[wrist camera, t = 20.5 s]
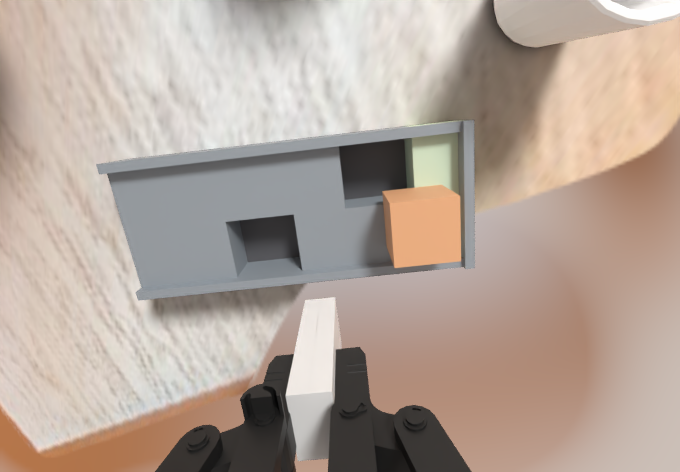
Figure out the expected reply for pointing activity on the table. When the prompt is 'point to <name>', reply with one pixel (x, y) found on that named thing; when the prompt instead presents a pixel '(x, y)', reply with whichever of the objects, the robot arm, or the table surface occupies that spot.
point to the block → (422, 225)
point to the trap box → (284, 207)
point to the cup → (577, 18)
